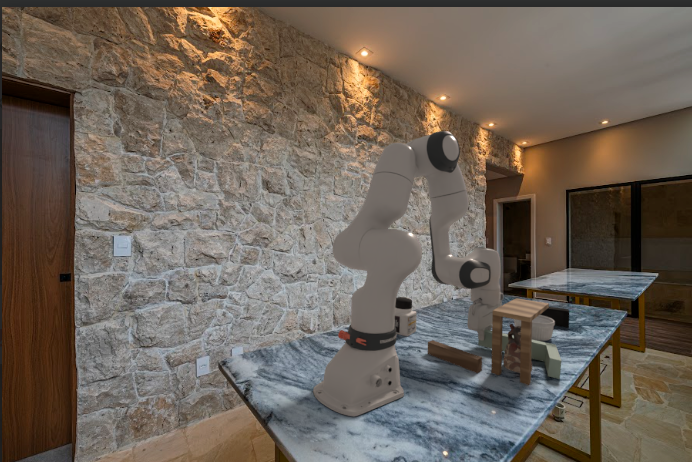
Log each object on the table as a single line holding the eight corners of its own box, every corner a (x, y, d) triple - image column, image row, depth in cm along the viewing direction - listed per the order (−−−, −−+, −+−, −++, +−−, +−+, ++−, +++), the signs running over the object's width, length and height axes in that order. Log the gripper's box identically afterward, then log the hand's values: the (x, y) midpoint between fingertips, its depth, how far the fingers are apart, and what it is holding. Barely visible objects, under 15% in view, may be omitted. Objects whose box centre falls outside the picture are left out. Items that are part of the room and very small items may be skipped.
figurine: (517, 374, 81) (518, 330, 81) (497, 363, 88) (498, 322, 88) (538, 372, 83) (539, 329, 83) (517, 361, 90) (518, 321, 90)
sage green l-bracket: (559, 379, 79) (561, 360, 79) (474, 356, 89) (475, 340, 89) (554, 360, 90) (555, 344, 90) (478, 342, 100) (480, 328, 100)
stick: (477, 374, 81) (477, 359, 81) (427, 354, 94) (427, 342, 94) (481, 371, 83) (482, 357, 83) (432, 352, 95) (432, 340, 95)
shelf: (528, 385, 75) (530, 317, 75) (491, 372, 82) (492, 310, 82) (547, 359, 91) (548, 303, 91) (515, 350, 97) (516, 298, 97)
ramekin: (563, 343, 105) (563, 323, 105) (525, 342, 106) (526, 322, 106) (539, 330, 119) (540, 313, 119) (506, 329, 119) (506, 312, 119)
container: (407, 336, 108) (408, 301, 108) (388, 332, 113) (389, 298, 113) (416, 331, 115) (417, 297, 115) (398, 327, 119) (399, 294, 119)
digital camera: (567, 324, 127) (568, 308, 127) (569, 328, 122) (569, 311, 122) (538, 320, 132) (539, 304, 132) (539, 323, 128) (539, 307, 128)
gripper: (483, 303, 89) (482, 349, 89) (505, 293, 103) (504, 333, 103) (462, 299, 93) (461, 343, 93) (486, 290, 108) (485, 329, 108)
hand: (484, 338), depth 99 cm, fingers closed on sage green l-bracket, 3 cm apart
